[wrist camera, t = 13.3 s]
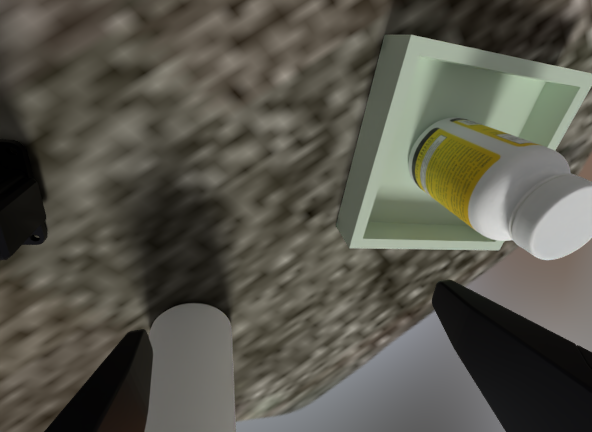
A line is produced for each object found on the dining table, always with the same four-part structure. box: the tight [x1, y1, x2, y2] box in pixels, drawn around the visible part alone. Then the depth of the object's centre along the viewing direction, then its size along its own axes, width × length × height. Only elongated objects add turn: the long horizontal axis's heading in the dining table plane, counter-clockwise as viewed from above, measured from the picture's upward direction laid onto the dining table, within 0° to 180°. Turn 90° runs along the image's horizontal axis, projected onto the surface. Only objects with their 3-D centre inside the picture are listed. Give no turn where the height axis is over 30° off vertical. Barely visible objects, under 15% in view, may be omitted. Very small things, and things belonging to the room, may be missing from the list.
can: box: [145, 303, 236, 432], centre depth 22 cm, size 6×6×12 cm
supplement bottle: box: [409, 117, 592, 260], centre depth 18 cm, size 5×5×10 cm
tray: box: [336, 35, 592, 250], centre depth 22 cm, size 13×13×3 cm
